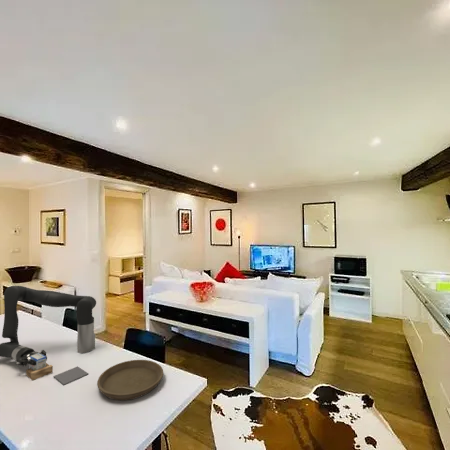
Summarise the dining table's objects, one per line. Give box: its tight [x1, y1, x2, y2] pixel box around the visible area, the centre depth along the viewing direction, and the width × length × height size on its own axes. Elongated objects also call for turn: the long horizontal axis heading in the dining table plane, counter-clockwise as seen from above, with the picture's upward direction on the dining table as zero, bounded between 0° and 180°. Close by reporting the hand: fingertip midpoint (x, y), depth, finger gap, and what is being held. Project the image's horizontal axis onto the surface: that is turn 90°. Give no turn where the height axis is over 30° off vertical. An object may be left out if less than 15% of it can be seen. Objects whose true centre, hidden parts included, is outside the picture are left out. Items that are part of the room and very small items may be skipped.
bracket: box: [25, 362, 54, 381], centre depth 138 cm, size 9×9×4 cm
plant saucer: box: [96, 359, 164, 401], centre depth 130 cm, size 31×31×5 cm
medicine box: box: [29, 352, 47, 371], centre depth 139 cm, size 8×4×9 cm, turn 61°
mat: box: [53, 365, 89, 386], centre depth 136 cm, size 12×12×1 cm
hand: (40, 361), depth 138 cm, fingers closed on medicine box, 4 cm apart
